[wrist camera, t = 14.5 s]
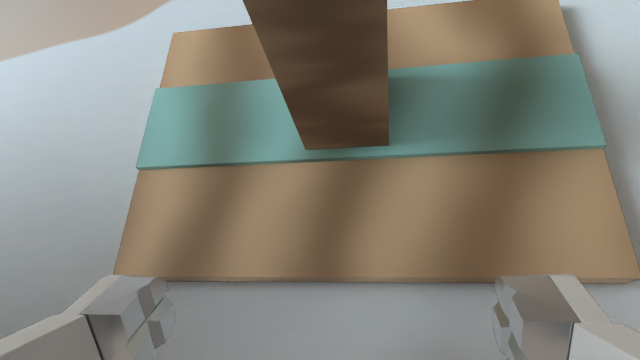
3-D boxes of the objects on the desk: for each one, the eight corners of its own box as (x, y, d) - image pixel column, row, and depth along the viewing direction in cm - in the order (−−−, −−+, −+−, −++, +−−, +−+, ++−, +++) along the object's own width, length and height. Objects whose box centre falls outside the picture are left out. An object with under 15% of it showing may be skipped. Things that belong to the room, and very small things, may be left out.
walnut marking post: (305, 149, 19) (226, -39, 10) (309, 83, 21) (244, -131, 12) (389, 145, 18) (386, -61, 9) (386, 77, 20) (380, -155, 11)
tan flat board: (128, 280, 19) (108, 274, 18) (182, 46, 25) (170, 29, 24) (625, 283, 16) (647, 276, 14) (547, 9, 22) (557, -14, 20)
